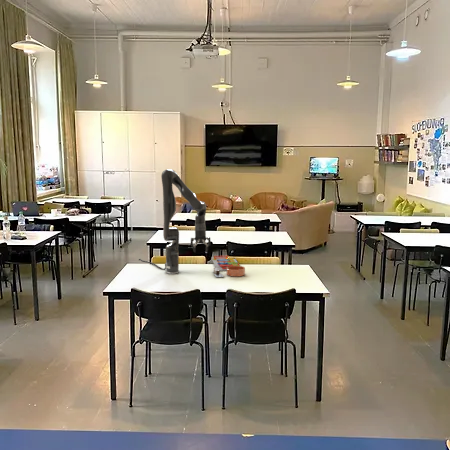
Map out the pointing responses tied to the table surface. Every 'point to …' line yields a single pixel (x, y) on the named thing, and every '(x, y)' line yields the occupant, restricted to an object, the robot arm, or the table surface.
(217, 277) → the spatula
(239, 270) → the bowl
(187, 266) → the table surface
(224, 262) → the gear board
